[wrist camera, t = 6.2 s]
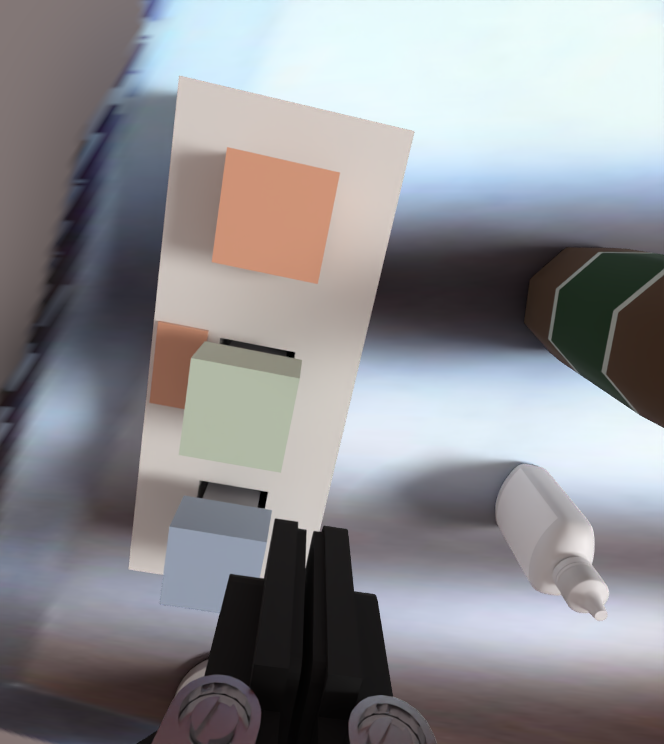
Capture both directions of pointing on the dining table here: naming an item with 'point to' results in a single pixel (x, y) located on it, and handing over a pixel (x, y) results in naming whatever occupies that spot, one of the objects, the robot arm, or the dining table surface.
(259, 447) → the sage button
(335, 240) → the console
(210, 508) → the slate button
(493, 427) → the dining table surface
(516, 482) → the eye dropper bottle
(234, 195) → the terracotta button
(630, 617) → the dining table surface
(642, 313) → the beer bottle
